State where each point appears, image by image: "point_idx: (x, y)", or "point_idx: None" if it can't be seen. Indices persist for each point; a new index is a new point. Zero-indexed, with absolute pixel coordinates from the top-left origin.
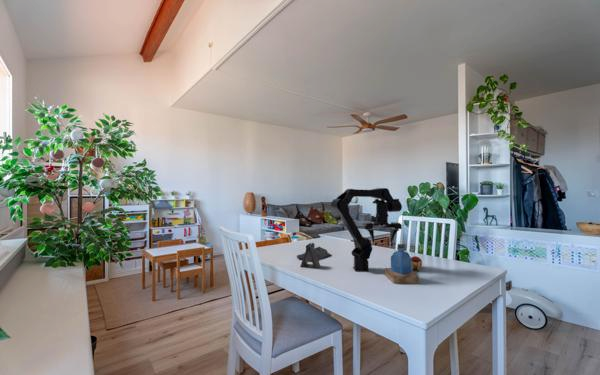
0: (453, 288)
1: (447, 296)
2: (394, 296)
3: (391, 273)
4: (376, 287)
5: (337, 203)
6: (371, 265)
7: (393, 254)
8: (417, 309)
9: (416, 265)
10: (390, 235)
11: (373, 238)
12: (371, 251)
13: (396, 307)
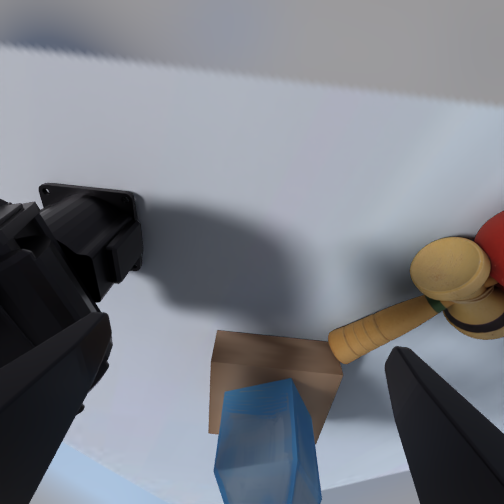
0: (395, 448)
1: (324, 474)
2: (177, 459)
3: (209, 418)
4: (140, 415)
5: None
6: (197, 131)
7: (224, 498)
8: (204, 497)
9: (455, 317)
10: (471, 467)
11: (66, 416)
12: (109, 345)
13: (161, 488)
